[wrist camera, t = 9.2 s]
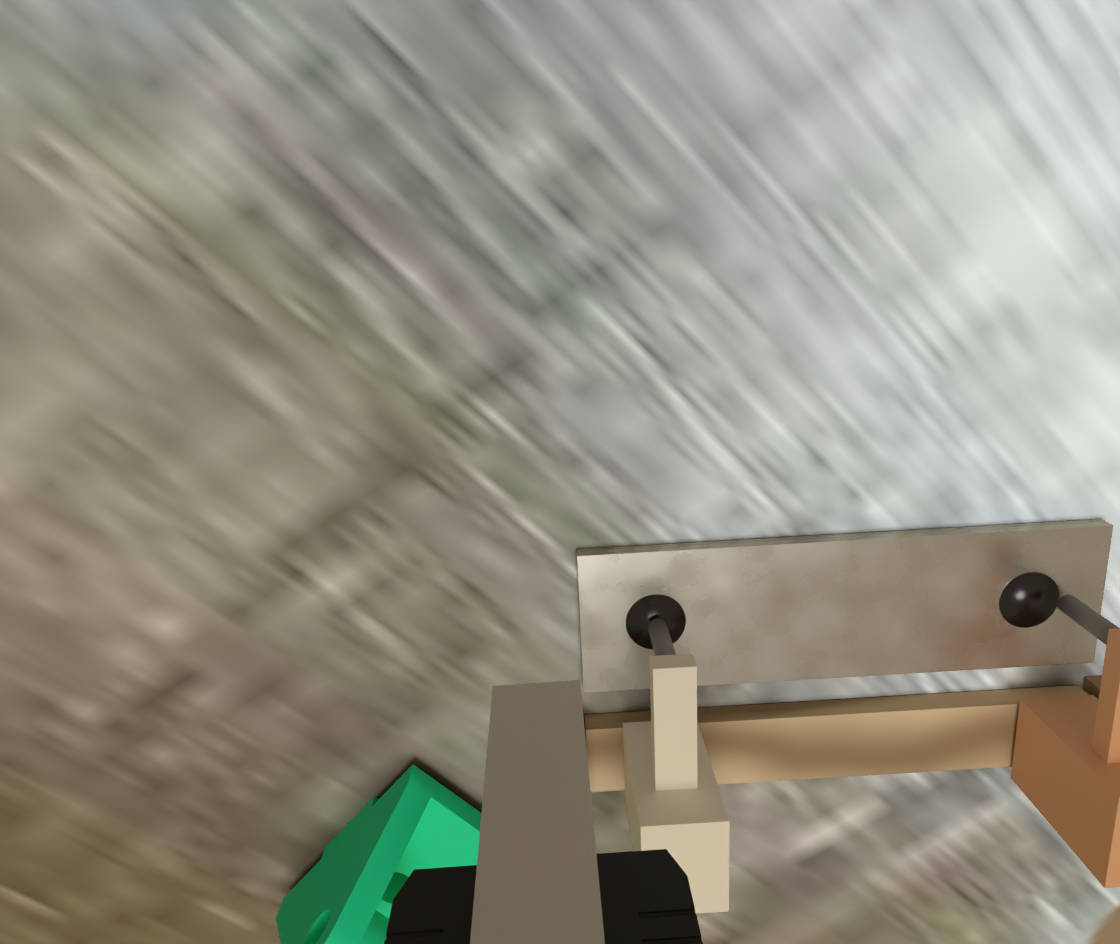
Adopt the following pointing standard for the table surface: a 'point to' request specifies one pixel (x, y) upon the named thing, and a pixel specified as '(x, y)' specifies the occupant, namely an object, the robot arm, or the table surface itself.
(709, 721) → the rail
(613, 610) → the hole plate
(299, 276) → the table surface
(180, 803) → the table surface
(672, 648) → the fixed leg
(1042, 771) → the slider leg
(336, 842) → the camera mount
